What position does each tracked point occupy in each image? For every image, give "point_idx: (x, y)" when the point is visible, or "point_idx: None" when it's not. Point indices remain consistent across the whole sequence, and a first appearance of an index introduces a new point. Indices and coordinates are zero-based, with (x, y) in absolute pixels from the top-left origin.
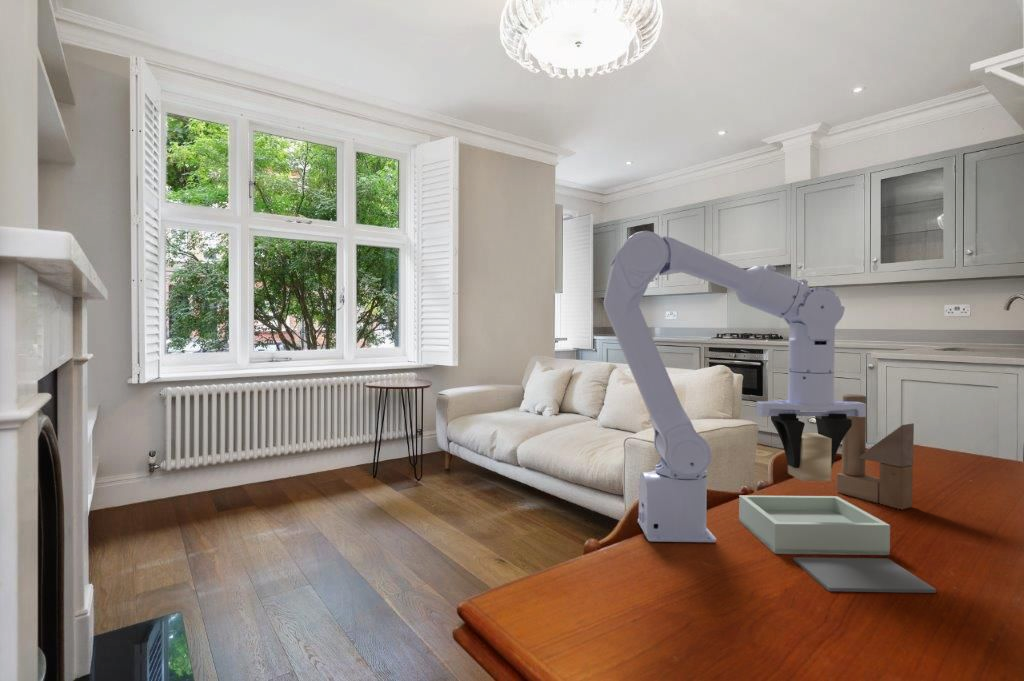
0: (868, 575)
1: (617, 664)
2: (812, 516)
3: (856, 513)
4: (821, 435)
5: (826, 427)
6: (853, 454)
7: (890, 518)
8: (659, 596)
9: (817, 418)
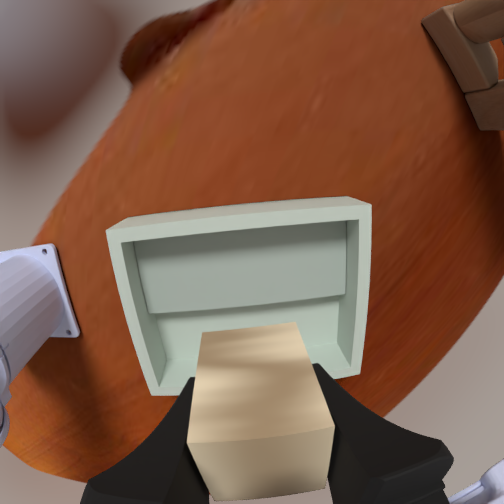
0: None
1: (57, 473)
2: (274, 260)
3: (353, 300)
4: (324, 461)
5: (343, 496)
6: (498, 25)
7: (448, 170)
8: (52, 431)
9: (364, 486)
